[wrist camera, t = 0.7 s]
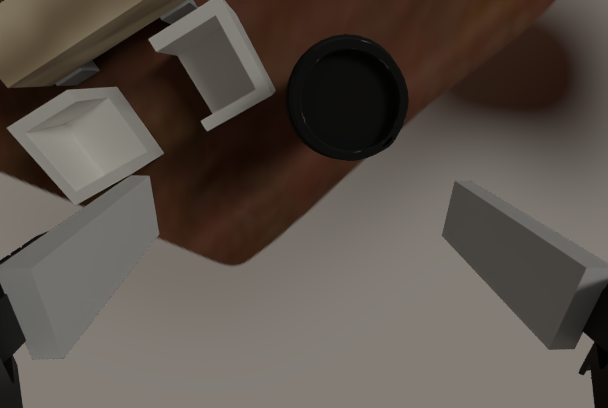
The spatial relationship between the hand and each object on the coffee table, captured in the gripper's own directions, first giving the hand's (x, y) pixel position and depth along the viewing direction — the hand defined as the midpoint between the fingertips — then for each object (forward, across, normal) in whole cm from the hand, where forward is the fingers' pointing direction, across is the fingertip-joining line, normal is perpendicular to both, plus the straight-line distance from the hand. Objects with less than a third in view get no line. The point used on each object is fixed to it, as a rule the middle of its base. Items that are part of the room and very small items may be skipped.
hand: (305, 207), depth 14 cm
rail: (+20, -17, +9) cm, 28 cm away
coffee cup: (+24, +3, +3) cm, 24 cm away
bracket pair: (+23, -13, +2) cm, 27 cm away
